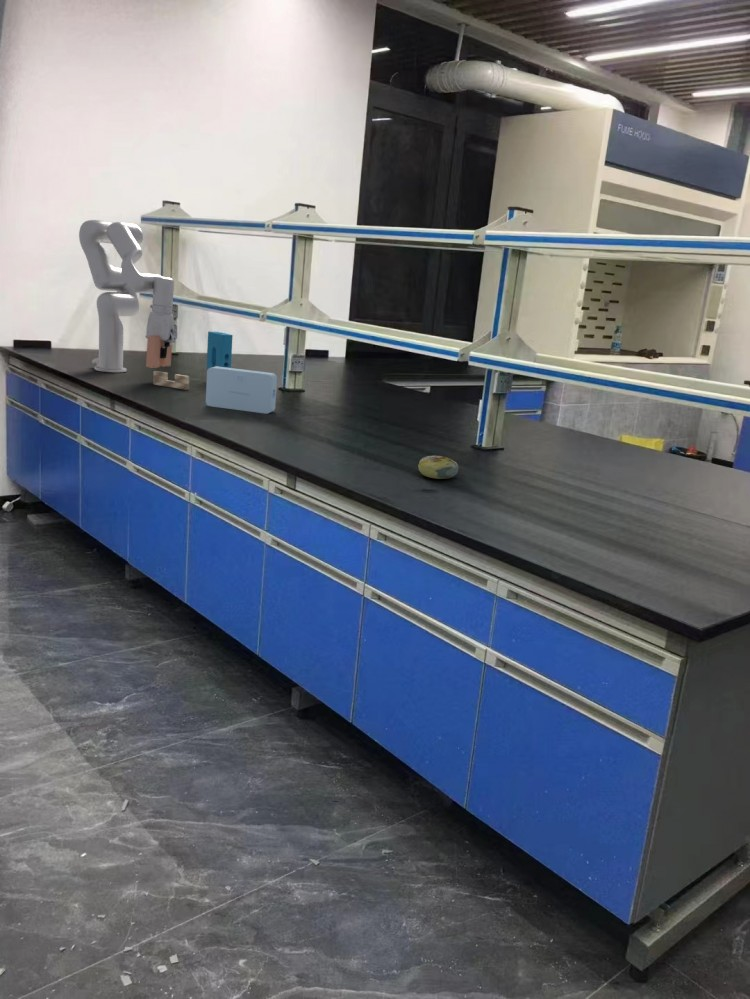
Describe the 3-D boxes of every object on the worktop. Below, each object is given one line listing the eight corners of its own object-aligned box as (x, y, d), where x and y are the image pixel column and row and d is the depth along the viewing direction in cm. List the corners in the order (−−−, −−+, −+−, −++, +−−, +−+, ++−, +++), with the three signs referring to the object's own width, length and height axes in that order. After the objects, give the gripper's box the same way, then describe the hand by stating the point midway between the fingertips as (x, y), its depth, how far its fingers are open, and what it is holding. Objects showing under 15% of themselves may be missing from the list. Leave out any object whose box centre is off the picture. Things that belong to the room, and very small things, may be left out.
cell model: (414, 471, 215) (418, 441, 227) (418, 495, 219) (422, 464, 231) (455, 468, 213) (457, 437, 224) (458, 492, 217) (461, 461, 229)
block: (230, 385, 344) (233, 335, 339) (220, 385, 341) (222, 334, 336) (215, 380, 353) (218, 331, 348) (205, 380, 350) (207, 331, 344)
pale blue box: (204, 406, 291) (206, 367, 288) (211, 404, 297) (212, 365, 293) (269, 414, 287) (272, 375, 284) (274, 412, 293) (277, 373, 290)
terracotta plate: (145, 366, 330) (147, 335, 327) (164, 364, 341) (166, 334, 338) (152, 368, 329) (154, 337, 326) (170, 365, 340) (172, 335, 337)
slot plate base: (153, 384, 327) (153, 371, 325) (155, 383, 328) (156, 370, 327) (186, 389, 322) (186, 376, 320) (188, 389, 323) (189, 376, 322)
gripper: (138, 306, 328) (135, 354, 333) (174, 313, 323) (170, 361, 328) (150, 306, 335) (147, 353, 340) (185, 313, 330) (182, 360, 335)
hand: (159, 356), depth 334 cm, fingers closed on terracotta plate, 3 cm apart
